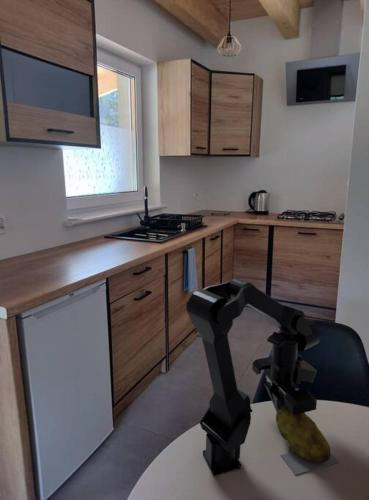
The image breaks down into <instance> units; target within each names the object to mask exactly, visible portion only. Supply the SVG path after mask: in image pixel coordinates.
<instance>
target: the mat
mask: <svg viewBox="0 0 369 500" xmlns="http://www.w3.org/2000/svg"><path fill="white" fill-rule="evenodd" d="M280 457H281V458H282V459H283V461H284V462H285V464H286V465H287V466H288V468H289V469H290V470H291V472H292V473H293V474H294V476H298V475H301V474H302V475H303V474H305V473H308V472H312V471H315V470H319V469H322V468H325V467H329V466H332V465H336V464H339V463H340V460H338V459H337V458H336V457H335V456H334V455H333V454H332V452H330V458H329V460H327V461H326V462H323V463H317V462H312V461H308V460H306V459H304V458H302V457H300V456H299V455H297V454H296V453H295V452H294V451H291V452H286V453H283V454H280Z"/></svg>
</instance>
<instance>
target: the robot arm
mask: <svg viewBox="0 0 369 500" xmlns="http://www.w3.org/2000/svg"><path fill="white" fill-rule="evenodd" d="M231 298H232V300H230V299H231ZM245 306H248V307H249V308H252V309H253V310H255V311H257V312H258V313H260V314H262V315H263V316H264V319H265V321H267V323H268V324H270V326H272V327H274V328H277V329H279V331H273V333H272V334H271V335H269V336H268V337H267V338H266V341H267V343H268V342H269V343H270V344H272V346H271V347H272V348H271V356H268V357H263V358H258V359H254V361H253V362H252V365H251V370H252V371H253V372H254V373H255V374H256V375H257V376H258V375H261V374H262V371H263V370H264V371H265V372H266V375H265V378H266V381H264V382H263V385H264V387H265V389H266V391H267V393H268V395H269V397H270V398H269V399H270V400H271V402H272V404H273V407H274V409H275V412H276V413H277V411H278V409H279V408H280V407H282V406H286V407H287V408H288V409H289V410H290V411H291V412H292V413H293V414H296V415H297V414H301V413H305V414H306V413H308V412H311V411H315V410H317V404H318V400H317V399H316V398H315V397H314V396H313V395H312V394H311V393H310V392H309V391H308V390H307V389H305V388H302V389H299V386H297V385H300V384H302V381H303V382H309V384H310V383H311V384H312V383H314V380H315V377H316V375H317V372H318V370H317V369H316V368H315V367H314V366H312V365H311V364H310V363H309V362H307V361H305V359H303V356H302V355H301V354H299V353H298V352H303V351H305V350H307V349H310V348H311V347H313V346H315V345H317V344H319V342H320V341H321V338H322V335H321V332H320V329H318V327H317V326H316V325H315V320H314V319H311V318H308V317H307V318H306V317H305V316H306V314H305V312H304V311H303V310H301V309H299V308H295V307H293V306H291V305H287V304H285V303H282V302H279V301H278V300H275V298H273V297H271V296H269V294H267V293H265V292H263V291H262V290H260V289H259V288H258V287H257V286H255V285H254V284H253V283H251V282H248V281H247V280H243V279H239V278H231V279H230V280H227V281H225V282H222V283H218V284H213V285H208V286H207V287H204V288H202V289H197V290H195V291H194V292H193V293H192V294H191V295H190V297H189V298H188V301H186V306H185V307H186V313H187V315H188V317H189V319H190V322H191V324H192V326H193V327H194V328H195V330H196V331H197V332H198V334H199V335H200V337H201V339H202V344H203V349H204V354H205V358H206V361H207V362H206V363H207V367H208V372H209V376H210V380H211V384H212V385H211V386H212V390H213V393H212V395H211V397H210V398H209V407H208V409H207V410H206V412H205V413H204V415H203V417H201V420H200V421H199V425H200V428H201V430H202V431H204V432H206V435H205V437H206V438H205V449H204V450H202V455H203V457H204V459H205V462H206V463H207V465H208V468H209V470H210V472H211V474H212V475H213V476H218V475H222V474H225V473H230V472H233V471H236V470H240V469H242V464H241V462H240V461H239V460H240V458H241V446H242V445H244V444H245V443H246V438H247V435H248V433H249V429H250V426H251V420H252V414H251V413H253V409H252V406H251V399H250V396H249V395H248V394H246V393H244V392H243V390H240V389H239V388H238V386H237V379H236V375H235V369H234V364H233V363H234V362H233V358H232V352H231V347H230V342H229V336H228V334H229V333H230V331H231V329H232V327H233V324H234V320H235V319H236V318H238V317H239V316H241V315H242V313H243V311H244V309H245Z"/></svg>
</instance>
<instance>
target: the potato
mask: <svg viewBox="0 0 369 500" xmlns="http://www.w3.org/2000/svg"><path fill="white" fill-rule="evenodd" d="M275 423H276V426H277V429H278V432H279V434H280V435H281V436H282V437H283V439H285V441H286V442H287V444H288V446H289V448H290V449H291V450H292V452H295V453H296V454H297V455H299V456H300V457H302V458H304V459H306V460H308V461H312V462H317V463H323V462H326V461H327V460H329V458H330V453H331V446H330V443H329V441H328V440H327V439H326V437H325V436H324V434H323V432H321V431H322V430H320V429H319V427H318V426H317V424H316V422H315V421H313V419H312V418H311V417H310V416H308V414H306V412H305V413H301V414H297V415H296V414H293V413H292V412H291V411H290V410H289V409H288V408H287V407H286V406H282V407H280V408H279V409H278V411H277V412H276V413H275Z"/></svg>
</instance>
